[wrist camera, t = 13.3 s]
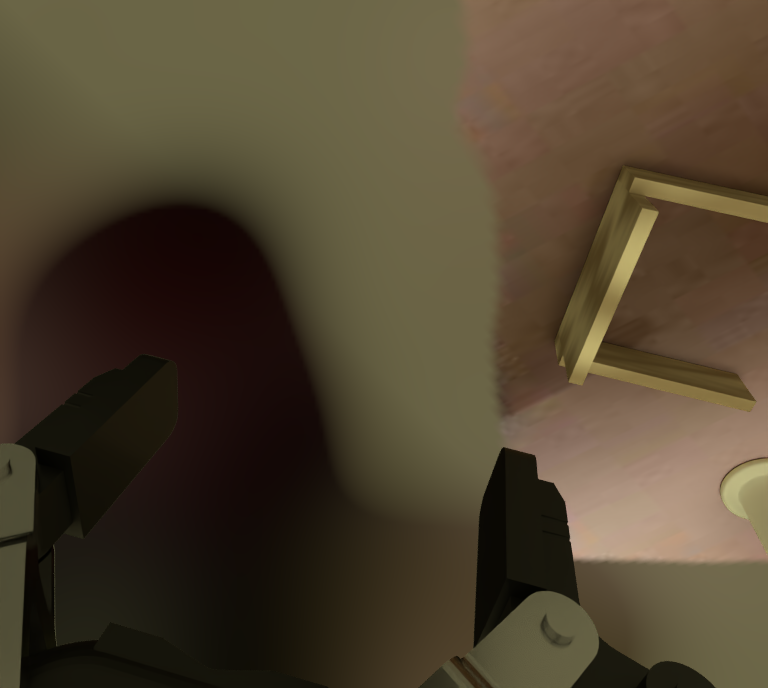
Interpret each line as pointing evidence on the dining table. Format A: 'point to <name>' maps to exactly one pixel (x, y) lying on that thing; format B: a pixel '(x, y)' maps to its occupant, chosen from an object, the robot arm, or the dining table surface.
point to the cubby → (611, 274)
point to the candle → (749, 495)
